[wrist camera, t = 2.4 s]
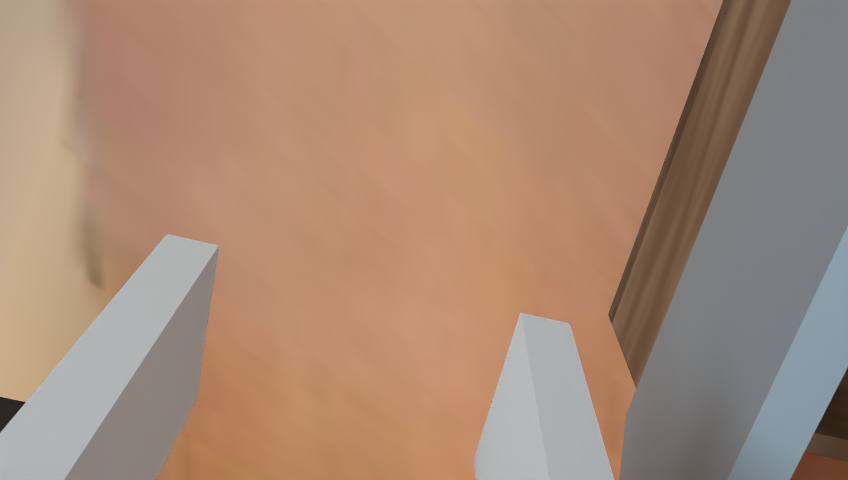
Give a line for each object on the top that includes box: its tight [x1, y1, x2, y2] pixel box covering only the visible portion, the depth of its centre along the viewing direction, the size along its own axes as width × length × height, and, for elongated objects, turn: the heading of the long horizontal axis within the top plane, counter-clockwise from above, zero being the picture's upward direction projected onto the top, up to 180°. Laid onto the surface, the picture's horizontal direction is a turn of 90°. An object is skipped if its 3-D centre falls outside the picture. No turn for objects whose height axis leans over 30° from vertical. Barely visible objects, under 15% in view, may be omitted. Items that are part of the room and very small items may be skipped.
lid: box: [619, 0, 848, 480], centre depth 22 cm, size 16×20×1 cm
